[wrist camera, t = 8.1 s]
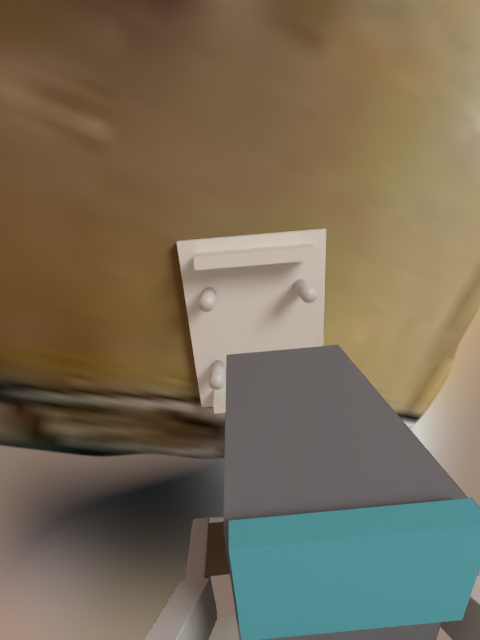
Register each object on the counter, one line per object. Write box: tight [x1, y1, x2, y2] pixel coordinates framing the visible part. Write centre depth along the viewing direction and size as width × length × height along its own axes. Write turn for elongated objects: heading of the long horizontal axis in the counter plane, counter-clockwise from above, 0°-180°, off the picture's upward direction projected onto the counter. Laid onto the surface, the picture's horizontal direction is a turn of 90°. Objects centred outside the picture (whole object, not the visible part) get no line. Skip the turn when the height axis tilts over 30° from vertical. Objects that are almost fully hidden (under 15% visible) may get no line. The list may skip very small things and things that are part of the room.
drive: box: [223, 345, 480, 640], centre depth 9 cm, size 4×10×6 cm, turn 5°
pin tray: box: [176, 228, 326, 414], centre depth 24 cm, size 12×16×4 cm
